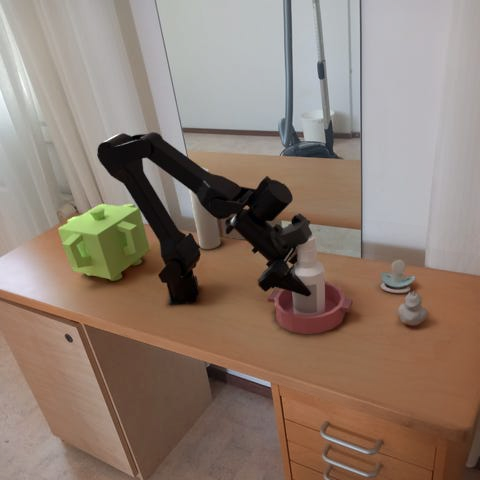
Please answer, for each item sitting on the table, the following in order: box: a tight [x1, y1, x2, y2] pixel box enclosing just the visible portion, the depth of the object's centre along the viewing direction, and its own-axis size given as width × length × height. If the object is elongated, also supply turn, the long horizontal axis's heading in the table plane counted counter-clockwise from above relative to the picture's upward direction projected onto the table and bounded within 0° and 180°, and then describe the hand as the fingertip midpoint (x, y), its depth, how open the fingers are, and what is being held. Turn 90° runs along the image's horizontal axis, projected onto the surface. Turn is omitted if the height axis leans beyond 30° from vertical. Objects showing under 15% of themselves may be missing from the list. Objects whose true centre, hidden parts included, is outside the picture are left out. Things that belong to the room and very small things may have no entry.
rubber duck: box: [397, 290, 428, 327], centre depth 97 cm, size 5×7×8 cm
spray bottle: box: [292, 234, 326, 316], centre depth 101 cm, size 7×7×18 cm
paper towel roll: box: [188, 166, 221, 250], centre depth 134 cm, size 7×6×21 cm
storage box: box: [57, 203, 151, 282], centre depth 131 cm, size 25×23×17 cm
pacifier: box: [380, 259, 416, 294], centre depth 108 cm, size 7×6×6 cm
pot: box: [267, 280, 354, 335], centre depth 105 cm, size 18×15×4 cm
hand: (314, 286), depth 102 cm, fingers closed on spray bottle, 7 cm apart
